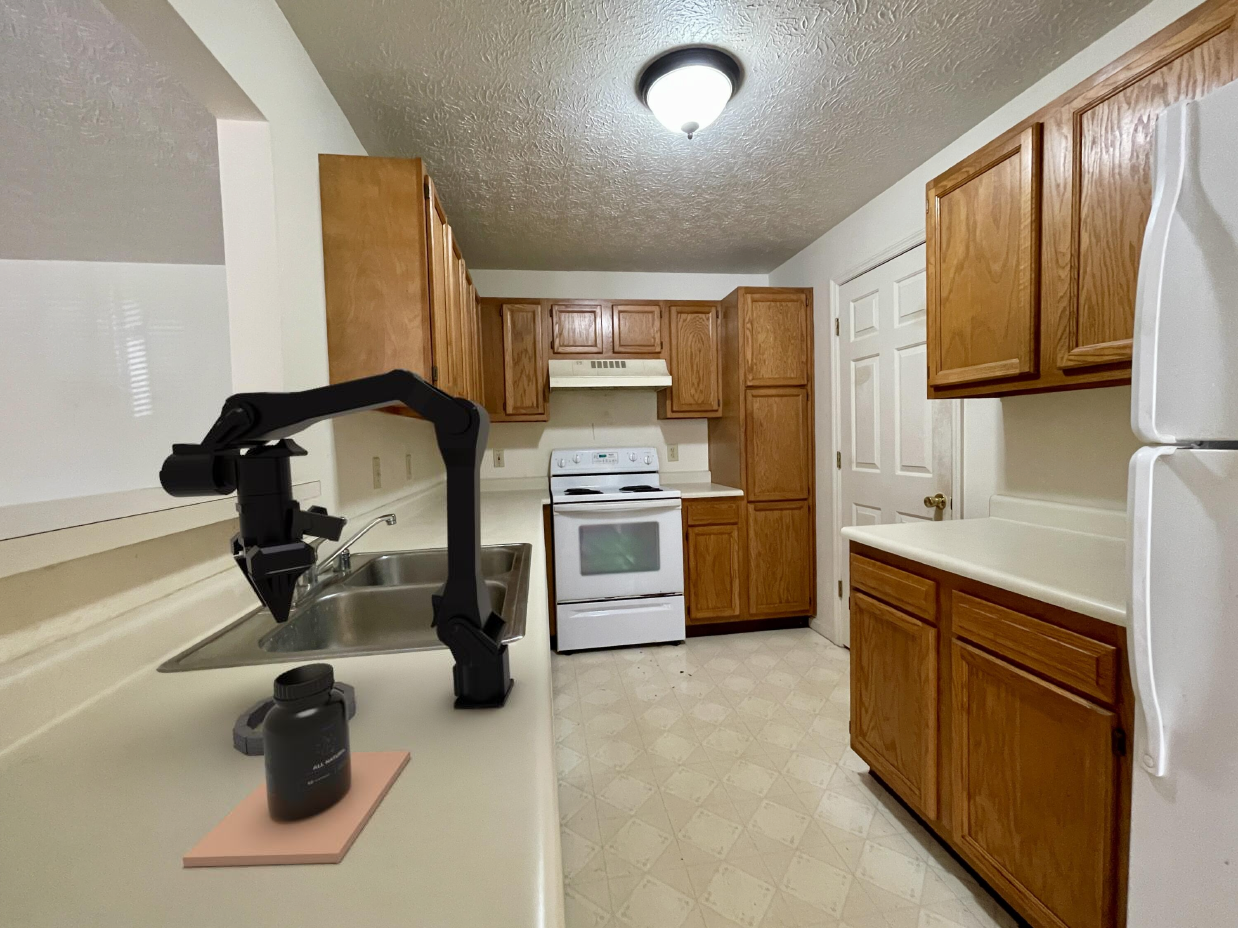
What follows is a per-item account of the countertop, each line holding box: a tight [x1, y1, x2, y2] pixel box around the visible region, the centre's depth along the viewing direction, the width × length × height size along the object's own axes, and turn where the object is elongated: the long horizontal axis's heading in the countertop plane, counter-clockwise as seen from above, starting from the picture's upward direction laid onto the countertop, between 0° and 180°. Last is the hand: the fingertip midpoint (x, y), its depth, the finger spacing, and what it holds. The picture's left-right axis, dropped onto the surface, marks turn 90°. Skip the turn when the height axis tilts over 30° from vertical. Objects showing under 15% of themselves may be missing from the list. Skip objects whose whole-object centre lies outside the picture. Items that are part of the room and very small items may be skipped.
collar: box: [232, 681, 356, 756], centre depth 60 cm, size 12×12×2 cm
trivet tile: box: [182, 750, 411, 868], centre depth 46 cm, size 13×13×1 cm
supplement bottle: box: [262, 662, 352, 821], centre depth 46 cm, size 7×7×12 cm
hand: (275, 613), depth 62 cm, fingers open, 9 cm apart
